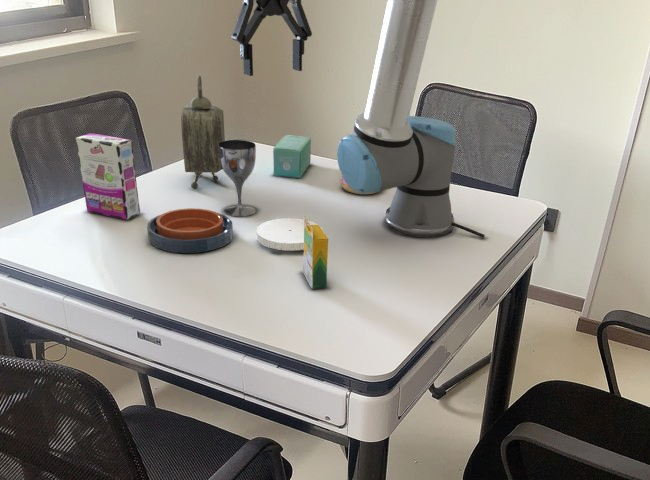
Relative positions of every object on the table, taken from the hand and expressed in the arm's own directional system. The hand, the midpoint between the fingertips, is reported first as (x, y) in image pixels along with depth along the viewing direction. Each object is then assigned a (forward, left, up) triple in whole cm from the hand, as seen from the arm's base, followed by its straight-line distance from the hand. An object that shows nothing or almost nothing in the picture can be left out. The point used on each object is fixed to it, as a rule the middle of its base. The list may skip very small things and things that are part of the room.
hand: (273, 72), depth 168 cm
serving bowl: (-19, +34, -27) cm, 47 cm away
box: (+8, -11, -27) cm, 30 cm away
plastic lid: (-32, +18, -27) cm, 46 cm away
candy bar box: (+3, +41, -27) cm, 49 cm away
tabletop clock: (+11, +13, -27) cm, 32 cm away
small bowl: (-19, +34, -27) cm, 47 cm away
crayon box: (-50, +25, -27) cm, 62 cm away
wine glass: (-11, +17, -27) cm, 34 cm away
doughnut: (-14, -17, -27) cm, 35 cm away
